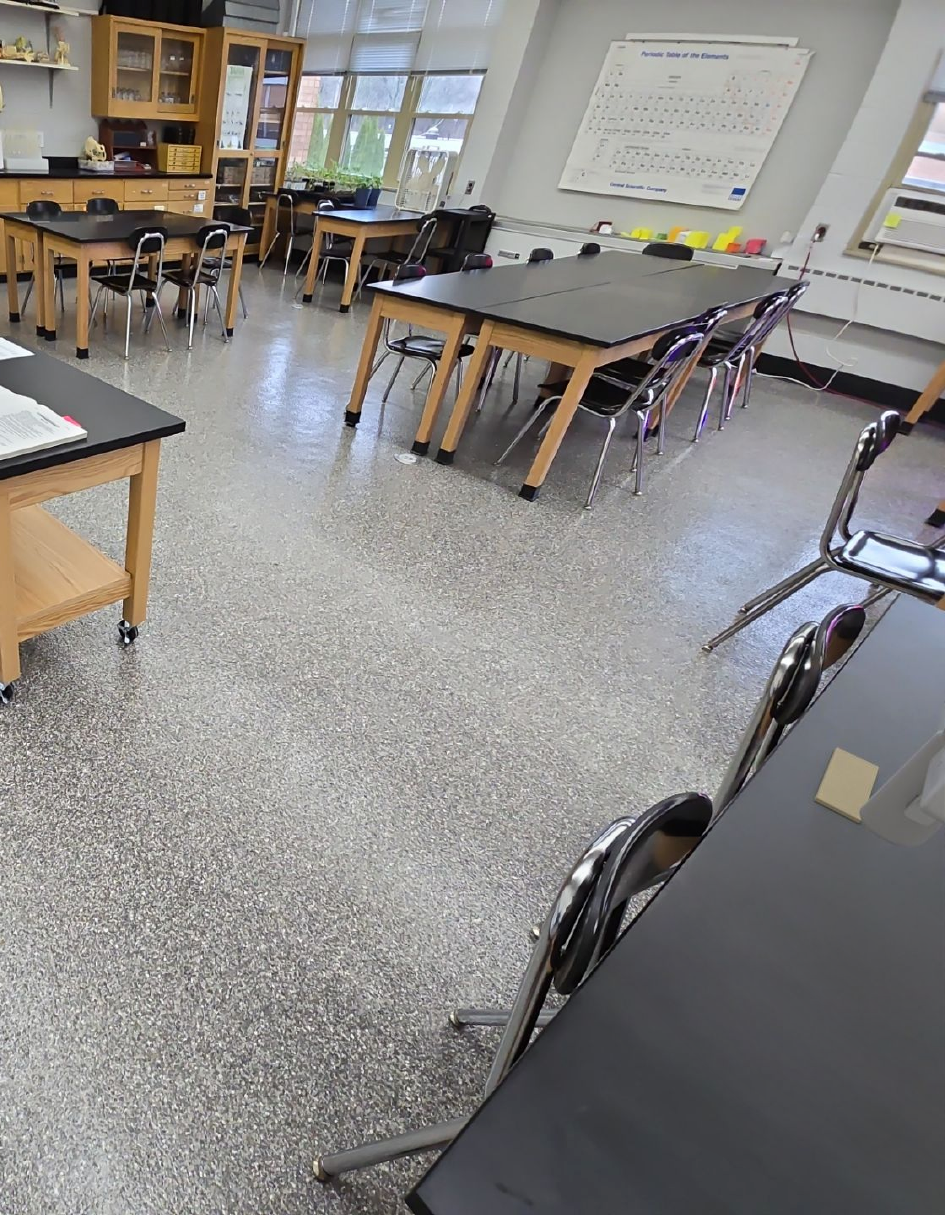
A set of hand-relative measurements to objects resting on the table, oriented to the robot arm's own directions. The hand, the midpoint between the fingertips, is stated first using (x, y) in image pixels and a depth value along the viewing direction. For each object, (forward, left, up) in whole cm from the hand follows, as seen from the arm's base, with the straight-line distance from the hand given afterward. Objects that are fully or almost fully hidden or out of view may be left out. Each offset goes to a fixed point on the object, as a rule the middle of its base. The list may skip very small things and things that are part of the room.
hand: (919, 798), depth 67 cm
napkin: (-10, -24, -18) cm, 31 cm away
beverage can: (0, 0, -5) cm, 5 cm away
